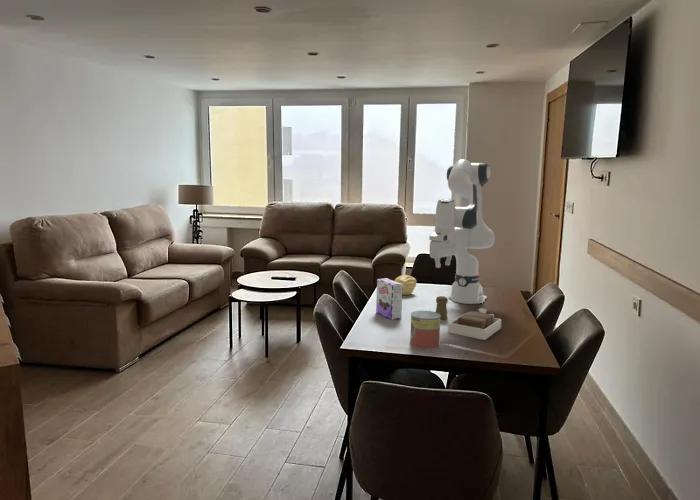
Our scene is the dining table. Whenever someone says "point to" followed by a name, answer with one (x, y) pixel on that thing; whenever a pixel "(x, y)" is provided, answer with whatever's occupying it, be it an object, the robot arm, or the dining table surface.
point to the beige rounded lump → (406, 284)
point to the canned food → (425, 330)
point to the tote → (474, 329)
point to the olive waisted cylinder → (442, 307)
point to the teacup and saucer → (483, 311)
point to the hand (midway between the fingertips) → (442, 266)
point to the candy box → (389, 298)
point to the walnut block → (476, 319)
